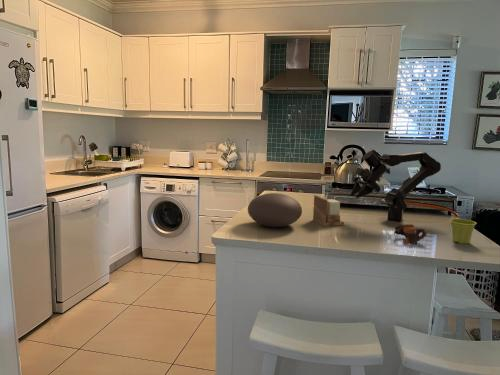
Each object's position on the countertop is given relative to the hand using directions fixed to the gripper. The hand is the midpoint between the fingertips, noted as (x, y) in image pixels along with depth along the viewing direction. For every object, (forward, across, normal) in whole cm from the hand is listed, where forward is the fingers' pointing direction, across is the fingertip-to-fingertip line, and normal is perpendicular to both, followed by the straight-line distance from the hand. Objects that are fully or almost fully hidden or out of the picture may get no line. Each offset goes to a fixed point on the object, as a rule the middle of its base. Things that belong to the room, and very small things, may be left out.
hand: (353, 196), depth 183 cm
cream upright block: (+16, 0, 0) cm, 16 cm away
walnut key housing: (+18, 0, 0) cm, 18 cm away
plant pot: (-11, +38, +29) cm, 50 cm away
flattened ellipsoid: (+38, +2, -20) cm, 43 cm away
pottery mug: (+4, +34, +14) cm, 37 cm away
